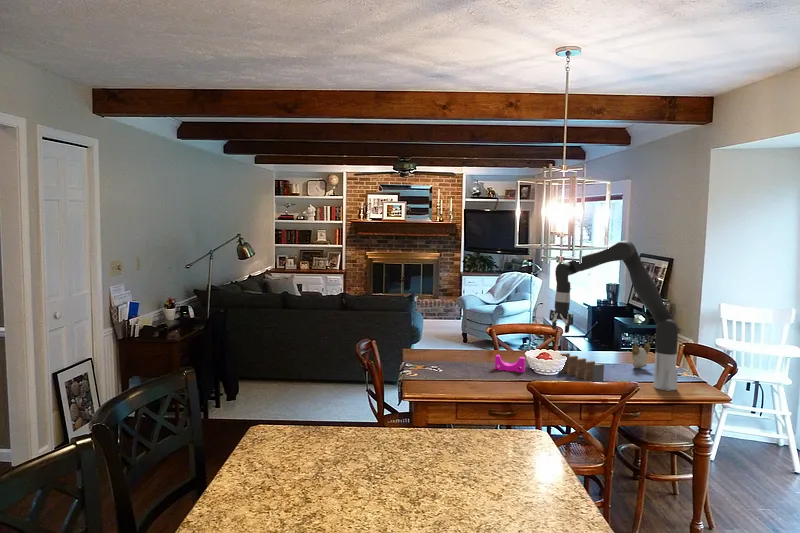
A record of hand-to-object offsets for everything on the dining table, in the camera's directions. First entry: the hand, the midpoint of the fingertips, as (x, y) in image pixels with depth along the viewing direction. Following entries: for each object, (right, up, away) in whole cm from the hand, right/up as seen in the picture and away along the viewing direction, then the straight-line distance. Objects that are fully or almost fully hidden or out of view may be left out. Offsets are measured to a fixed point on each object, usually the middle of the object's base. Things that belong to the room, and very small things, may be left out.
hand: (560, 331), depth 298 cm
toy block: (-26, -21, +1) cm, 34 cm away
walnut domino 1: (+2, -21, -2) cm, 22 cm away
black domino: (+12, -23, -24) cm, 35 cm away
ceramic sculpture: (+45, -22, +9) cm, 51 cm away
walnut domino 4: (+9, -23, -18) cm, 30 cm away
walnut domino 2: (+4, -22, -7) cm, 23 cm away
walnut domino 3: (+7, -22, -13) cm, 27 cm away
